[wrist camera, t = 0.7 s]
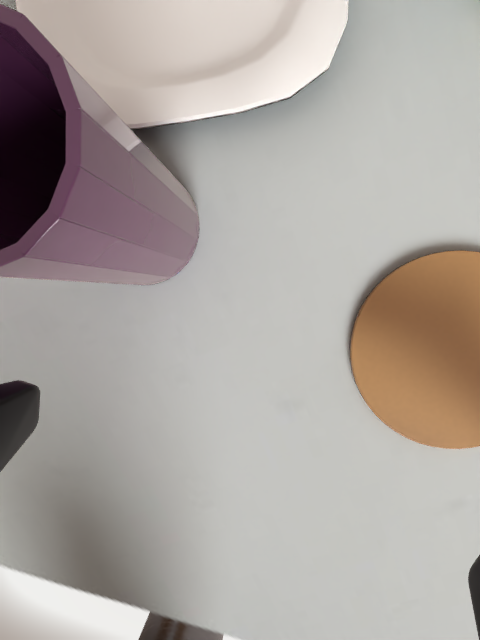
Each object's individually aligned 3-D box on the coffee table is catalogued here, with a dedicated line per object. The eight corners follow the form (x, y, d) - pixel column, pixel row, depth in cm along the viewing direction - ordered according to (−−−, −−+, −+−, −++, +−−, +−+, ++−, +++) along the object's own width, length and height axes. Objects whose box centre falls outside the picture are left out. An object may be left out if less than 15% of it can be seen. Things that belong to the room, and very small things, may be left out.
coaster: (495, 479, 21) (499, 482, 21) (317, 393, 22) (317, 395, 21) (598, 303, 20) (604, 303, 19) (405, 218, 20) (407, 217, 20)
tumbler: (171, 303, 22) (21, 318, 9) (73, 256, 23) (-198, 209, 10) (218, 197, 22) (123, 55, 9) (115, 151, 22) (-120, -49, 9)
